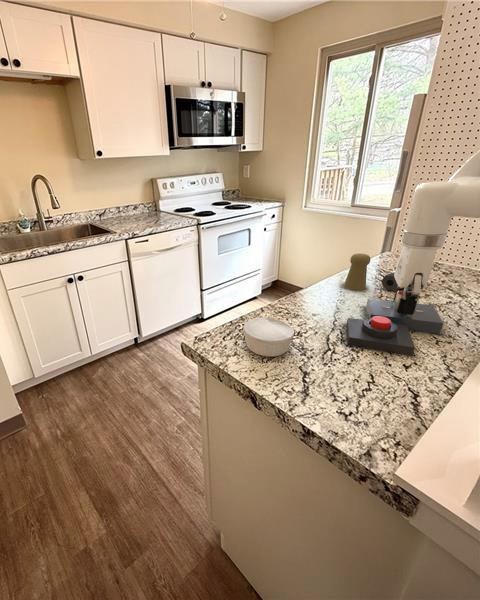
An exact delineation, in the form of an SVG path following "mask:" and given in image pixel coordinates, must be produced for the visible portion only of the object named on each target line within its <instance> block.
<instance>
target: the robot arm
mask: <svg viewBox="0 0 480 600" xmlns="http://www.w3.org/2000/svg"><path fill="white" fill-rule="evenodd" d="M455 217H459V218H460V217H462V218H470V219H471V218H474V219H480V149H479V150H478V151H476V152H475V153H474V154H473V155H472V156H470V157H469V158H468V159H467V160H466V161H465V162H464V163H463V164H462V165H461V166H460V167H459V168H458V170H457V171H455V173H453V175H451V177H450V178H449V179H448V180H447V181H428V182H422V183H421V184H418V185H417V186H416V188H415V189H414V192H413V196H412V199H411V204H410V207H409V212H408V215H407V219H406V223H405V227H404V230H403V233H402V238H401V242H400V245H401V246H402V248H401V251H400V254H399V257H398V260H397V264H396V266H395V270H394V272H395V273H394V272H393V273H394V277H395V280H396V282H397V284H398V288H399V289H398V288H397V289H396V290H395V294H394V296H393V300H392V301H393V302H394V301H395V298H396V294H397V291H402V290H404V292H403V298H400V302H399V305H398V309H397V313H401V314H409V315H413V314H414V311H415V308H416V304H418V301H419V297H420V295H421V291H422V290H425V289H426V288H427V286H428V283H429V280H430V277H431V273H432V271H433V266H434V262H435V259H436V255H437V250H440V249H442V248H443V247H444V245H445V242H446V238H447V237H448V236H447V235H448V232H449V229H450V226H451V223H452V221H453V218H455ZM408 291H411V292H409V293H408V294H407V292H408Z"/></svg>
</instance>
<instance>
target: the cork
mask: <svg viewBox="0 0 480 600" xmlns="http://www.w3.org/2000/svg"><path fill="white" fill-rule="evenodd" d="M349 261H350V267H349V269H348V272H347V276H346V278H345V281H344V283H343V287H344V289H346V290H349V291H356V292H357V291H358V292H360V291H364V290H366V289H367V273H368V271H367V270H368V266H369V264H370V263H371V256H370V255H369V254H366V253H353V254H352V255H351V256H350V259H349Z"/></svg>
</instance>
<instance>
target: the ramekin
mask: <svg viewBox="0 0 480 600" xmlns="http://www.w3.org/2000/svg"><path fill="white" fill-rule="evenodd" d="M242 328H243V329H242V331H243V334H244V341H245V345H246V346H247V347H248V349H249V350H250V351H251V352H253V353H254V354H256V355H258V356H262V357H268V358H274V357H279V356H281V355H284V354H285V353H286V352H287V351H288V350H289V348H290V345H291V342H292V340H293V339H294V336H295V329H294V328H293V327H292V326H291V324H289V323H288V322H286V321H284V320H282V319H279V318H274V317H263V316H262V317H255V318H251V319H249V320H247V321H246V322H245V323H244V324H243V327H242Z"/></svg>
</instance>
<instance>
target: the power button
mask: <svg viewBox="0 0 480 600" xmlns="http://www.w3.org/2000/svg"><path fill="white" fill-rule="evenodd" d="M390 323H391V320H390V319H388V318H386V317H382V316H374V317H372V320H371V324H370V325H371V326H373V327H375V328H378V329H389V327H390Z"/></svg>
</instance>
